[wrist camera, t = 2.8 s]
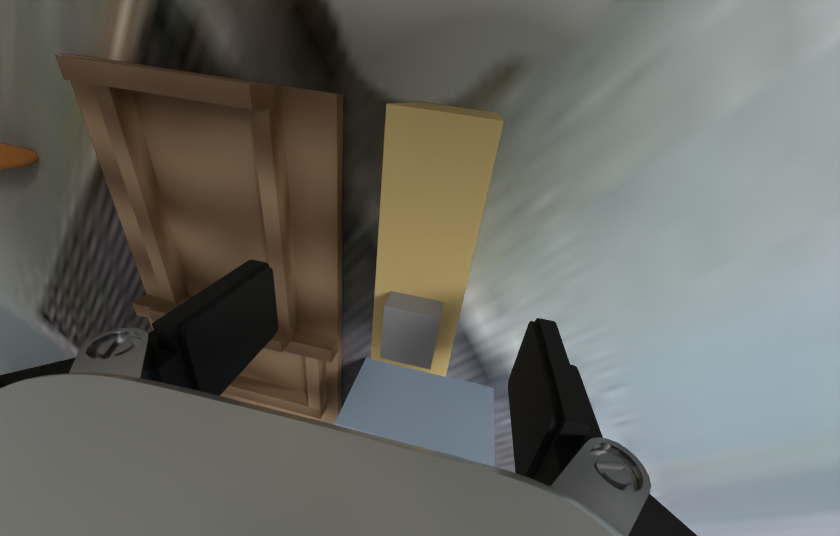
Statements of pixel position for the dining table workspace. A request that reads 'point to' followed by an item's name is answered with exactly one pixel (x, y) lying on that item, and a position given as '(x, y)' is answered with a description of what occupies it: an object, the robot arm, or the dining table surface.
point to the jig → (229, 206)
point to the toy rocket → (15, 156)
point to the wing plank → (422, 410)
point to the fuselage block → (428, 227)
